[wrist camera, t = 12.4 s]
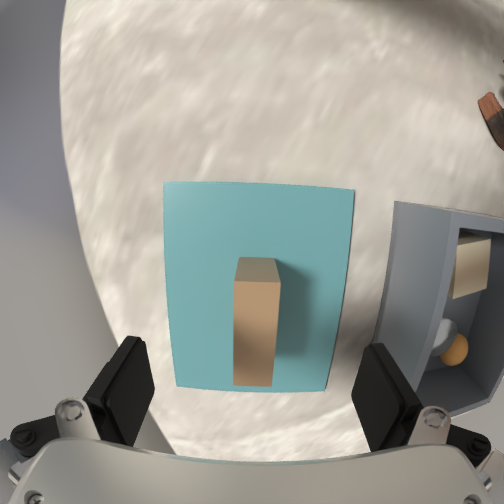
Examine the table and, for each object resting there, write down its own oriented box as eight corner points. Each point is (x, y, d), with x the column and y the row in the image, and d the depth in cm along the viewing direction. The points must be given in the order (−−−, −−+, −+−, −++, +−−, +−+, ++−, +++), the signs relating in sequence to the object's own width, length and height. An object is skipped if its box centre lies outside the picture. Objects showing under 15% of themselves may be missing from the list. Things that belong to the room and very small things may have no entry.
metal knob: (407, 300, 20) (432, 321, 16) (434, 298, 20) (461, 318, 16) (399, 333, 20) (420, 358, 16) (426, 330, 20) (449, 353, 16)
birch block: (434, 237, 18) (456, 245, 16) (468, 231, 18) (490, 238, 15) (432, 285, 19) (452, 299, 16) (465, 277, 19) (486, 288, 16)
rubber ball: (438, 329, 20) (456, 345, 17) (460, 326, 20) (478, 340, 17) (429, 357, 21) (444, 374, 18) (451, 353, 21) (467, 368, 18)
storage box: (394, 200, 19) (451, 211, 12) (493, 215, 19) (545, 229, 12) (361, 381, 22) (386, 435, 16) (456, 365, 22) (489, 402, 16)
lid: (168, 182, 19) (134, 182, 13) (349, 189, 19) (385, 192, 13) (179, 379, 23) (162, 425, 17) (322, 384, 23) (336, 430, 17)
